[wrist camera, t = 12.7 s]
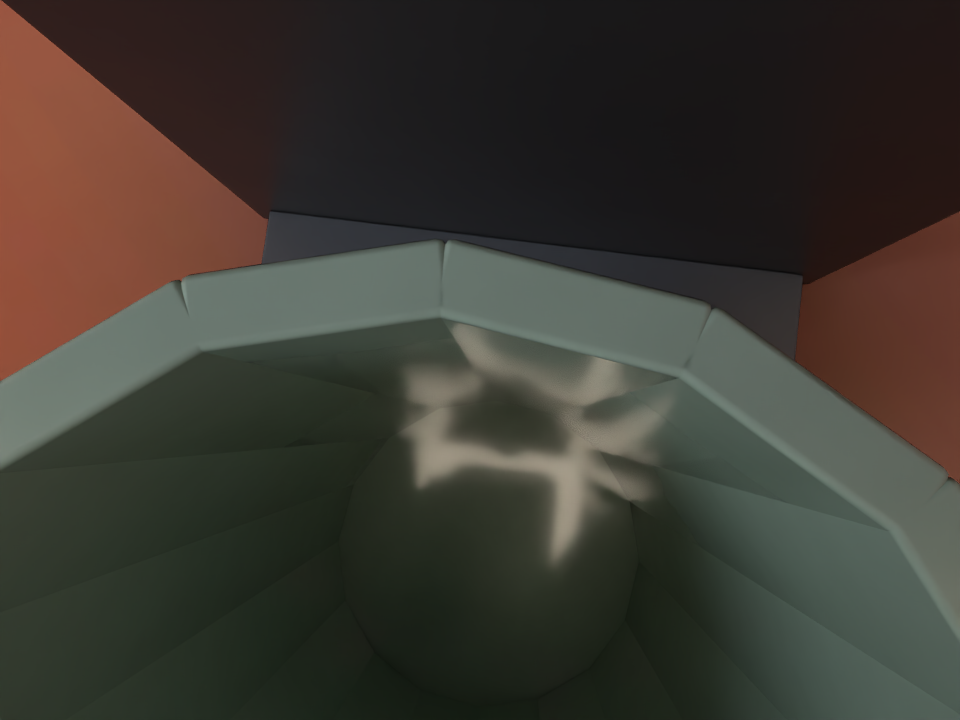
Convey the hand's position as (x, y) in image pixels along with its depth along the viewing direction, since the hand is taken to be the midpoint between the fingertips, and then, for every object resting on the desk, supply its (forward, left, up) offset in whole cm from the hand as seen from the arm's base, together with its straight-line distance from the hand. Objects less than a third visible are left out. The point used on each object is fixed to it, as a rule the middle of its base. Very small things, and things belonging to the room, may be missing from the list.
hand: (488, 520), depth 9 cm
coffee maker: (+3, +1, -9) cm, 10 cm away
